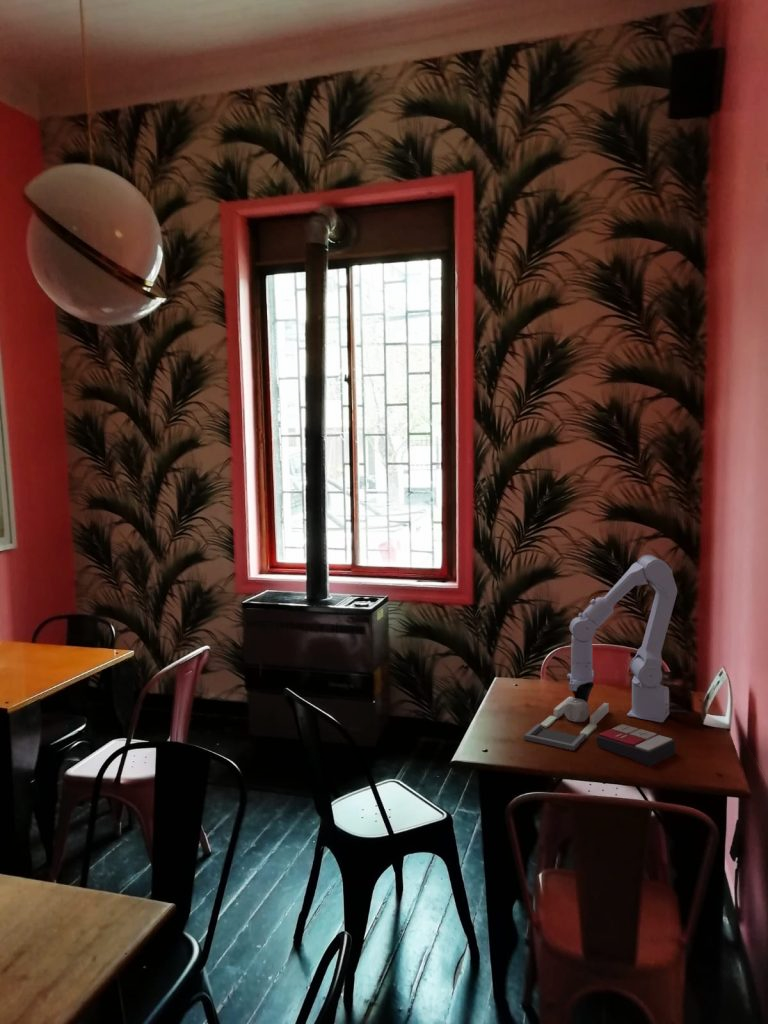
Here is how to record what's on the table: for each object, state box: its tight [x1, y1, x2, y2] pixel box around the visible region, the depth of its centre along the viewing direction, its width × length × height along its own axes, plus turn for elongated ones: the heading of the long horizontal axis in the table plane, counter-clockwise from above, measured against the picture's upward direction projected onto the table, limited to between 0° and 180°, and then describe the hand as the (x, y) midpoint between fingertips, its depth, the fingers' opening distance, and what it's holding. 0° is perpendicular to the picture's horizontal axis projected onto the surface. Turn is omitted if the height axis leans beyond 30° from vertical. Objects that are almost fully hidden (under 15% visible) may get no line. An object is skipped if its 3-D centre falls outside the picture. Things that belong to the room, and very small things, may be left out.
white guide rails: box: [553, 696, 610, 725], centre depth 198 cm, size 11×12×2 cm
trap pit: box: [523, 723, 587, 752], centre depth 182 cm, size 13×9×1 cm
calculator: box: [595, 723, 676, 767], centre depth 174 cm, size 11×4×15 cm
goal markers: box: [540, 715, 598, 738], centre depth 190 cm, size 13×8×1 cm, turn 55°
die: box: [563, 697, 590, 723], centre depth 195 cm, size 5×5×5 cm
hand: (581, 708), depth 198 cm, fingers closed
